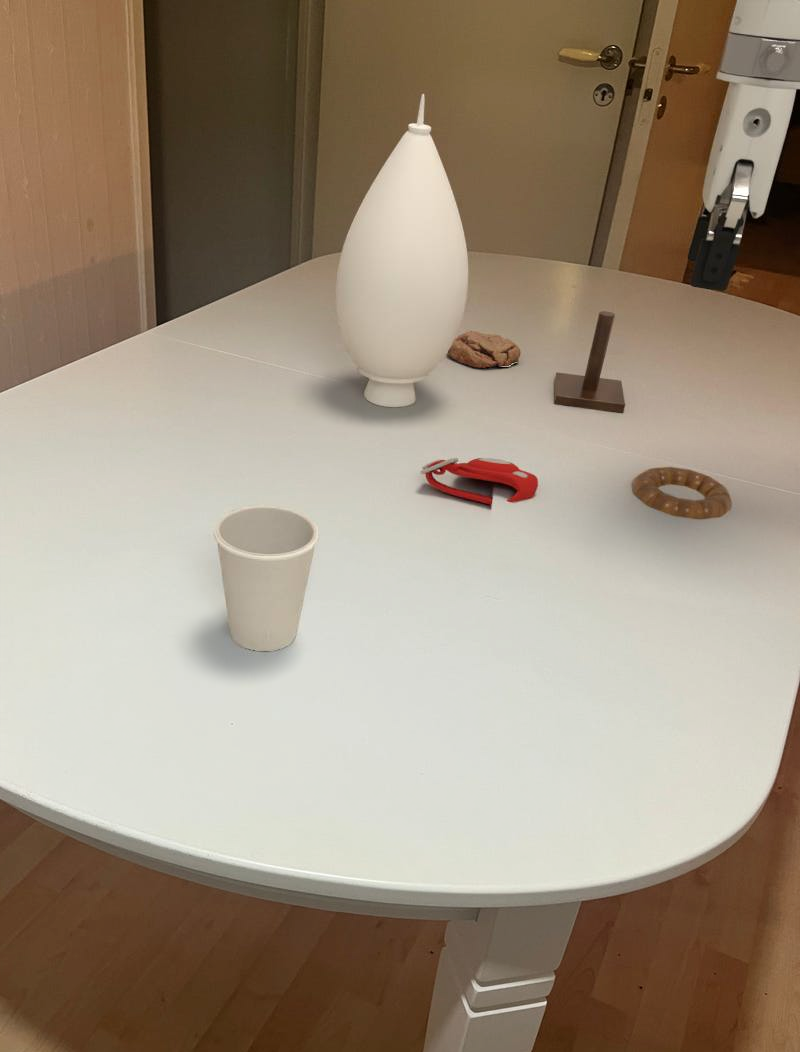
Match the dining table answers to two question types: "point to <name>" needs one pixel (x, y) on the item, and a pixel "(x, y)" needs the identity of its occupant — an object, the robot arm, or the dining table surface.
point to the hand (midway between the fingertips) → (705, 274)
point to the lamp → (403, 272)
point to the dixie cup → (265, 572)
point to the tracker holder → (483, 477)
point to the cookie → (484, 350)
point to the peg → (592, 377)
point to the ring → (653, 497)
